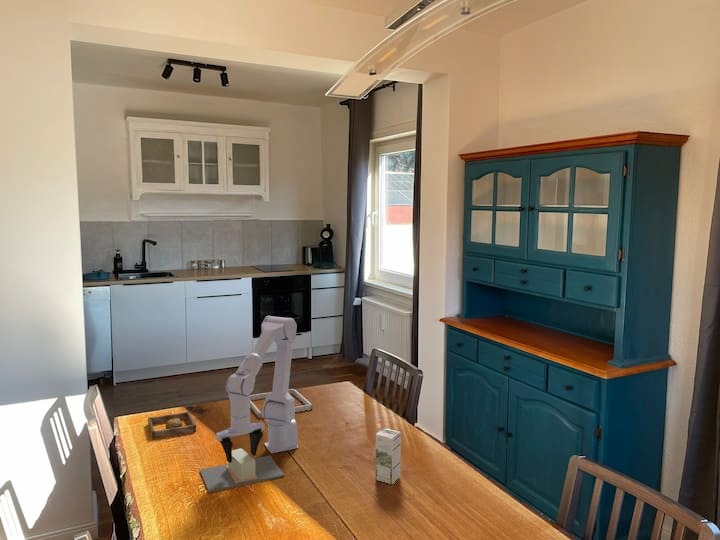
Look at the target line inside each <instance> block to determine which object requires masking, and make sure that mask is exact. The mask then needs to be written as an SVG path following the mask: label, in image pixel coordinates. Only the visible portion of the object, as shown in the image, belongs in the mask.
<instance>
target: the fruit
mask: <svg viewBox="0 0 720 540" xmlns="http://www.w3.org/2000/svg"><path fill="white" fill-rule="evenodd" d="M183 426H184V423H183V420H180V419H179V418H174V419H171V420H169V421H168V422H165V429H171V428H177V427H183Z"/></svg>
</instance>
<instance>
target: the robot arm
mask: <svg viewBox="0 0 720 540" xmlns="http://www.w3.org/2000/svg"><path fill="white" fill-rule="evenodd" d="M297 326H298V325H297V322H296V321H295V319H294V318H292V317H284V316H283V317H280V316H271V315H266V316H265V317H264V319H263V321H262V323H261V326H260V327H261V333H260V335H259V337H258V339H257V342H256V344H255V345H254V347H253V350H252V352H250V353H247V354H246V355H245V357H244V359H243V360H242V362H241V363H240V364H239V367H238V368H237V370H236V371H235V373H233V374H231V375H229V376H228V378H227V381H226V384H225V391H226V392H227V393H228V394H227V395H228V398H229V400H230V427H229V428H227V429H224V430H222V431H219V432H215V435H216V436H215V439H216V440H217V442H220V445H221V446H222V448H223V450H224V454H225V458H226V461H227V463H228V462H229V463H231V462H232V451H233V444H234V443H233V442H232V441H231V440H232V439H231V438H235V437H238V436H243V435H244V436H245V435H249V440H250V444H249V445H250V454H251V456H253V457H256V455H257V450H258V447H259V443H260V442H261V440H262V438H263V437H264V432H263V431H265V427H266V426H265V423H263V422H262V421H260V422H253V423H252V422H251V407H250V395H251V394H252V393H253V391H254V388H255V383H256V377H257V375H258V373H259V371H260V370H261V368H262V366H263V363H264V361H263V357H264V356H265V354H266V353H267V352H268V350H269V349H270V348H271V346H272V345H273V343H275V344H276V352H275V361H274V371H273V380H272V381H273V382H272V389H271V390H272V391H270V392H271V393H270V394H269V395H267V396H266V397H265V398H264V403H263V405H262V409H261V412H262V414H263V417H264V418H263V419H265V422H266V423H267V442H264V446H265V448H266V449H267V450H268V452H270V454H275V453H280V452H285V451H290V450H296V449H299V446H298V444H299V443H298V440H299V439H298V433H299V431H298V424H297V422H296V420H295V416H296V413H295V407H296V405H295V400H296V399H295V398H294V397H293V396H292V394H289V393H288V390H289V385H290V384H289V383H290V376H291V365H292V356H293V346H294V343H295V342H296V337H297V328H298V327H297Z"/></svg>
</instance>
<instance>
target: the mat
mask: <svg viewBox="0 0 720 540" xmlns="http://www.w3.org/2000/svg"><path fill="white" fill-rule="evenodd" d="M253 459H254V460H255V473H256V476H255V477H252V478H249V479H246V480H242V481H241V480H240V479H239V478H238V477H237V476H236V475H235V474H234V473H233V472H232V471H231V470H230V469H229V468H228V463H226V464H222V465H221V464H220V465H216V466H212V467H205V468H200V469H199V472H200V475H201V478H202V480H203V482H204V485H205V487H206V489H207V491H208V493H209V494H211V493H215V492H219V491H224V490H229V489H233V488H238V487H242V486H247V485H252V484H256V483H260V482H265V481H270V480H274V479H278V478H282V477H283V478H284V477H285V473H284V472H283V471H282V469H281V468H280V467H279V466H278V464H277V463H276V462H275V460H274V458H272V456H271V455H267V456H261V457H257V458H253Z"/></svg>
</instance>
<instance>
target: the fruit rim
mask: <svg viewBox="0 0 720 540" xmlns="http://www.w3.org/2000/svg"><path fill="white" fill-rule="evenodd" d="M174 418H179V419H180V420H181V421H183V420H187V421H188V424H189V425H183V427H177V428H171V429H166V428H165V429H160V430H155V428H154V426H153V425H158V424H164V423H165V424H166V423H167V422H168V421H169V420H171V419H174ZM147 425H148V428H149V431H150V434H151V439H152V440H157V439H156V438H158V439H163V438H168V436H169V437H173V436H174V435H175V436H180V435H185V434H192V433H197V425H196V423H195V420H194V418H193V417H192V414H191V413H190V411H184V412H178V413H171V414H170V413H169V414H164V415H159V416H158V415H157V416H152V417H147ZM162 437H163V438H162Z"/></svg>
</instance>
